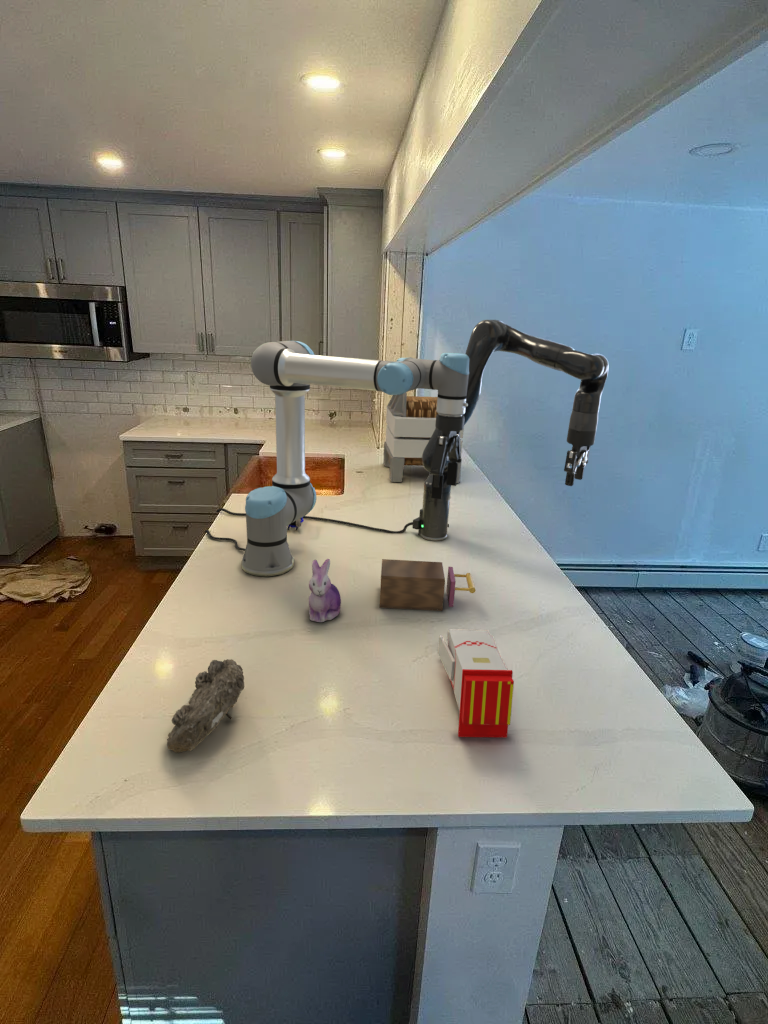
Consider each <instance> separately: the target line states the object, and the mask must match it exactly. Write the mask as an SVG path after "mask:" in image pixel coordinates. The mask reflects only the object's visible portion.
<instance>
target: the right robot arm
mask: <svg viewBox="0 0 768 1024" xmlns="http://www.w3.org/2000/svg"><path fill="white" fill-rule="evenodd" d="M467 343H468V344H467V347H466V350H465V353H464V354H466V355H467V356H468V357H469V377H468V386H467V395H466V403H467V404H468V406H467V407H465V413H464V414H463V416H464V417H465V420H464V426H465V425H466V424H467V423H468V421H469V420H470V418H471V417H472V415H473V414H474V411H475V409H476V407H477V404H478V402H479V400H480V397H481V392H482V381H483V375H484V371H485V368H486V366H487V364H488V362H489V359H490V358H491V356H492V354H493V353H495V352H505V353H511V354H515V355H518V356H521V357H524V358H526V359H528V360H530V361H531V362H533V363H535V364H538V365H540V366H542V367H545V368H549V369H552V370H555V371H559V372H562V373H564V374H566V375H568V376H571V377H573V378H575V379H577V380H580V383H579V387H578V389H577V390H576V391H575V394H574V397H573V403H572V410H571V414H570V417H569V422H568V429H567V436H566V442H567V444H569V445H571V446H572V447H571V449H570V450H569V449H568V450H567V451H566V456H565V462H564V468H563V471H564V472H565V473H566V475H565V481H564V485H565V486H567V487H573V486H574V483H575V480H579V481H582V480H583V478H584V472H585V468H586V467H587V465H588V463H589V458H590V451H591V447H593V446H594V444H595V441H596V436H597V435H596V434H597V430H598V423H599V412H600V406H601V400H602V394H603V392H604V389H605V385H606V382H607V379H608V375H609V367H610V366H609V361H608V359H607V358H606V356H605V355H603V354H602V353H601V354H600V353H592V354H591V353H587V352H583V351H579V350H576V349H574V348H573V347H572V346H569V345H566V344H563V343H560V342H556V341H552V340H550V339H545V338H542V337H537V336H534V335H531V334H528V333H526V332H523V331H521V330H518V329H517V328H514V326H513V327H512V326H510V325H509V324H507V323H505V322H503V321H501V320H499V319H483V320H481V321H479V322H478V323H476V324H475V326H474V328H473V329H472V331H471V333H470V336H469V340H468V342H467ZM441 433H442V431H441V430H439V429H437V428H435V430H434V432H433V434H432V436H431V438H430V440H429V442H428V444H427V445H426V447H425V449H424V451H423V454H422V464H423V466H422V467H423V468H424V470H425V471H427V472H428V473H429V474H428V476H427V477H426V478H425V480H424V482H423V493H422V496H423V497H422V506H421V508H420V509H419V516H418V517H416V518H414V519H412V521H411V522H408V523H406V524H405V525H404V526H403V529H401V530H390V529H389V530H388V529H385V528H378V527H373V526H369V525H364V524H359V523H355V522H350V521H344V520H338V519H332V518H325V517H317V516H309V515H306V516H304V517H303V519H305V520H315V521H321V522H323V521H324V522H330V523H335V524H342V525H347V526H351V527H357V528H361V529H365V530H370V531H375V532H383V533H387V534H402V533H404V532H406V530H407V528H408V527H410V526H412V529H414V530H417V535H418V536H420V538H421V539H424V540H426V541H432V542H440V541H444V540H446V539H447V538H448V528H450V524H449V517H450V516H449V514H450V504H451V494H452V493H451V491H452V485H446V483H447V471H448V462H451V461H450V460H449V456H448V457H447V460H446V464H445V467H444V471H443V474H442V475H444V479H443V491H442V499H436V498H431V495H432V481H433V474H430V471H431V467H432V462H433V457H434V452H435V448H436V441H437V436H441ZM437 470H438V469H437ZM221 511H222V512H224V513H227V514H228V515H230V516H237V517H246V512H245V513H244V512H233V511H231V510H228V509H226V508H222V507H220V508H218V509H217V510H216V511H215V513H220V512H221Z"/></svg>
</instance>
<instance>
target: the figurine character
mask: <svg viewBox="0 0 768 1024" xmlns="http://www.w3.org/2000/svg"><path fill="white" fill-rule="evenodd" d="M303 522H305V520H304V518H303V517H302V518H299V519H298V520H296V521H294V522H293V523H291V524H289V525H288V526H287V532H288V531H290V529H291V528H293V529H294V531H295V532H297V531H298V529H299V528H300V527H301V525H302V523H303Z"/></svg>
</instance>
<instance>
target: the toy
mask: <svg viewBox="0 0 768 1024" xmlns="http://www.w3.org/2000/svg"><path fill="white" fill-rule="evenodd" d="M446 640H447V643H446V641H445V639H444V636H443V635H442V634H439V637H438V646H437V656H438V657H439V659H440V661H441V663H442V666H443V668H444V670H445V672H446V674H447V677H448V679H449V681H450V684H451V687H452V690H453V693H454V697H455V701H456V705H457V708H458V711H459V714H458V715H459V716H458V730H457V731H458V732H457V737H458V738H508V731H509V726H510V725H511V717H512V707H513V697H514V696H513V695H514V684H515V680H514V679H513V673H514V671H513V670H512V669H508V667H507V665H506V662H505V661H504V659H503V658H502V655H501V653H500V651H499V649H498V647H497V643H496V639H495V637H494V635H493V634H491V632H490V631H489V629H467V628H466V629H465V628H463V629H461V628H460V629H459V628H448V630H447V639H446Z"/></svg>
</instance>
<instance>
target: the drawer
mask: <svg viewBox="0 0 768 1024" xmlns="http://www.w3.org/2000/svg"><path fill="white" fill-rule="evenodd" d="M456 578H465V579H466V582H467V583H466V584H467V587H456V583H457V582H456ZM445 586H446V587H445ZM445 588H446V590H445V591H446V592H445V593H446V597H447V603H448V607H449V608H453V607H454V606H455V605H454V604H455V593H456V591H459V592H460V591H461V592H469V593H470V594H475V593H476V590H477V589H476V586H475V582H474V578H473V575H472V573H471V572H467V573H466V574H462V573H455V572H454V567H453V566H448V567H447V577H446V584H445V585H444V589H445ZM444 597H445V595H444V596H443V600H444Z"/></svg>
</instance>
